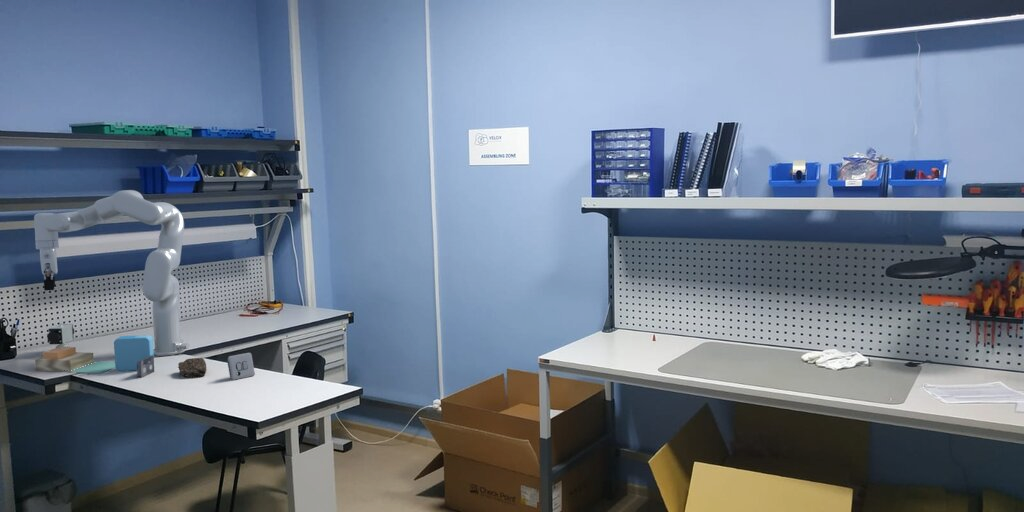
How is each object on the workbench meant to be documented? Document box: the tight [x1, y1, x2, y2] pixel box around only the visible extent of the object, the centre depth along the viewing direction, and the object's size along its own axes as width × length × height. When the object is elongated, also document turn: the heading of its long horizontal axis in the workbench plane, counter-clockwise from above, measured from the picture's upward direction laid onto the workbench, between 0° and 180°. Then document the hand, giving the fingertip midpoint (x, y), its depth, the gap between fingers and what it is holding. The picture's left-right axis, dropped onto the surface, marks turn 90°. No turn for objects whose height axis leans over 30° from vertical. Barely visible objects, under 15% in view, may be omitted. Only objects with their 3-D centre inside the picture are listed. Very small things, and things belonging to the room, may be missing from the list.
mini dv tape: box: [136, 355, 155, 379], centre depth 259 cm, size 8×2×6 cm, turn 176°
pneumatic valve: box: [46, 323, 75, 348], centre depth 292 cm, size 6×12×12 cm, turn 4°
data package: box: [113, 334, 155, 372], centre depth 267 cm, size 12×4×12 cm, turn 101°
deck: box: [34, 351, 95, 372], centre depth 271 cm, size 14×12×4 cm
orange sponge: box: [42, 346, 77, 359], centre depth 271 cm, size 6×9×2 cm, turn 173°
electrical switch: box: [226, 352, 256, 381], centre depth 256 cm, size 8×5×8 cm, turn 137°
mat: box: [69, 360, 116, 374], centre depth 269 cm, size 12×15×1 cm
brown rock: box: [177, 357, 208, 378], centre depth 260 cm, size 12×10×5 cm
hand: (49, 288), depth 286 cm, fingers open, 9 cm apart
